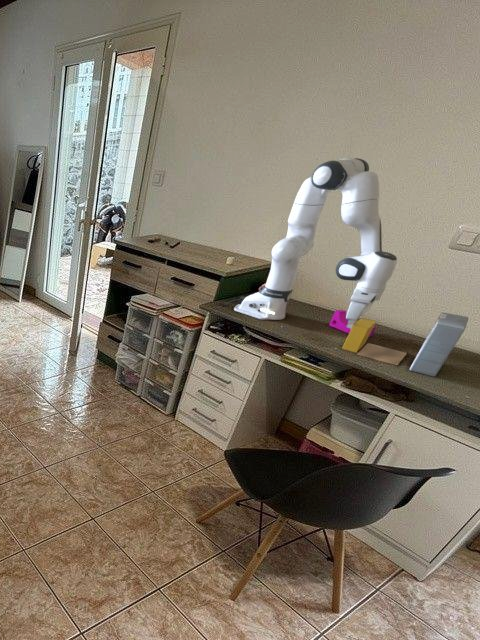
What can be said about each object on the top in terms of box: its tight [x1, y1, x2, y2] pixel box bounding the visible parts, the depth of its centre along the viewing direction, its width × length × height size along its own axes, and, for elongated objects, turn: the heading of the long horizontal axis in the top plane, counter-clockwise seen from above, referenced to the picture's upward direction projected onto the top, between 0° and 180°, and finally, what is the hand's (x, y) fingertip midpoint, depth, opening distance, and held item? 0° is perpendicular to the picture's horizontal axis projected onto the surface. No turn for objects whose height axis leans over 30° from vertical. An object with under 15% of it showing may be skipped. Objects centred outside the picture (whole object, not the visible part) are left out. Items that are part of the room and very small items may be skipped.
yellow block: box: [341, 317, 377, 354], centre depth 179 cm, size 5×12×11 cm, turn 128°
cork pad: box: [355, 342, 408, 367], centre depth 175 cm, size 13×16×1 cm
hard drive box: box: [409, 311, 469, 377], centre depth 160 cm, size 16×8×20 cm, turn 131°
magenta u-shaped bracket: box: [328, 309, 377, 338], centre depth 193 cm, size 15×6×8 cm, turn 12°
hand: (352, 324), depth 179 cm, fingers open, 8 cm apart
